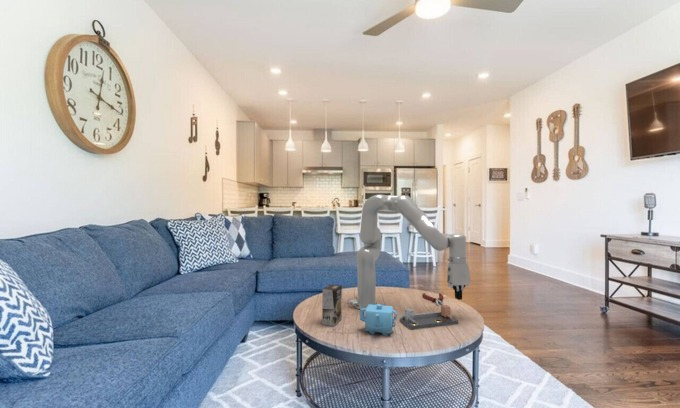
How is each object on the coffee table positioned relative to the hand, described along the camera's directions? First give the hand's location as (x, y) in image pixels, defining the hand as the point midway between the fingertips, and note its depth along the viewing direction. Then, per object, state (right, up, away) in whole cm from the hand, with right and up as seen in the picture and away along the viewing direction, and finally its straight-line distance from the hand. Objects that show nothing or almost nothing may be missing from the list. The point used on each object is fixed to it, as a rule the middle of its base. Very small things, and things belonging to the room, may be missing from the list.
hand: (458, 298), depth 148 cm
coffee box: (-60, -9, -5) cm, 61 cm away
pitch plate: (-16, -9, -6) cm, 19 cm away
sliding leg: (-6, -7, -3) cm, 10 cm away
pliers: (-4, -10, +27) cm, 29 cm away
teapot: (-40, -9, -16) cm, 44 cm away
